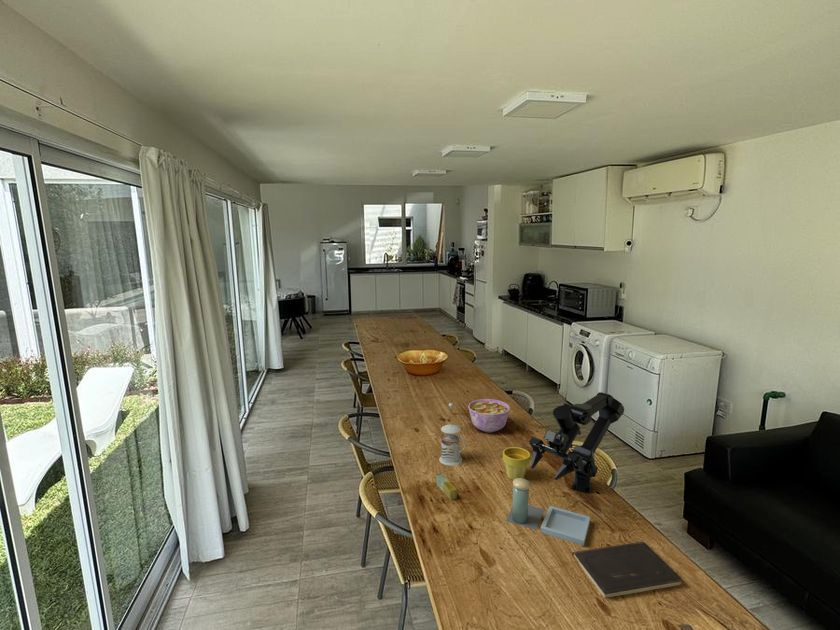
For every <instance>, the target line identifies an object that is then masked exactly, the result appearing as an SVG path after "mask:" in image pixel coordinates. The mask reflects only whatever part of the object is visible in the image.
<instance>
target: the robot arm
mask: <svg viewBox="0 0 840 630" xmlns="http://www.w3.org/2000/svg"><path fill="white" fill-rule="evenodd" d="M596 413H598V417H597V418H596V421H595V422H594V424H593V426H592V427H591V429H590V431H589V433H588V434H587V436H586V437H585V439H584V442H583V443H582V445H575V446H574V447H573V443H574V441H575V440H576V438H577V436H581V434H582V433H581V432H582V431H581V427H580V426H579V425H582V426H587V425H588V424H589V423H590V422H591V421H592V416H593V415H594V414H596ZM624 413H625V407H624V405H623V404H622V403H621V402H620V401H619V400H617V399H616V398H614V396H613V395H611V394H609V393H605V392H602V391H600V392H598V393H597V394H596V395H595V396H593V397H591V398H590V399H588V400H587V401H585V402H582V403H573V404H571V405H570V404H568V403H563V404H562V405H559V406H556V407H555V408H553V411H552V415H553V417H554V419H555V421H556V424H557V425H558V427H559V429H558V431H555V432H553V431H551V430H547V429H546V431H545V434H544V436H543V439H541V438H538V437H536V436H532V437H531V438H530V439H529V441H528V443H529V445H530V448H531V449H532V458H531V461H530V469H531V470H533V469H534V468H535V467H536V466H537V465H538V463H540V461H541V460H542V458H543V454H545V453H548V454H550V455H553V456H555V457H558V458H560V459H562V460H563V461H562V464H561V466H560V467H559V469H558V470H557V472H556V473H555V476H554V478H553V479H554V481H558V480H559V479H561V478H563V477H565V476H566V475H568V474H570V473H572V472H574V477H573V478H574V479H573V482H572V485H571V489H572V490H576V491H580V492H584V493H588V494H590V493H591V490H592V487H593V483H592V481H591V479H592V478H596V476H597V473H598V469H599V468H598V466H597V465H596V463H595V462H596V459H595V453H596V451H597V449H598V447H599V446H600V444H601V442H602V441H603V438H604V437H605V435H606V433H607V431H608V429H609V428H610V426H611V424H614V423H615V422H618V421H619V420H620V418H621V417H622V416H623V415H624ZM543 440H546V443H547V445H546V444H545V443H544V441H543ZM548 445H549V446H548ZM572 448H573V449H572ZM570 449H572V451H571V450H570ZM569 450H570V451H569Z"/></svg>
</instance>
